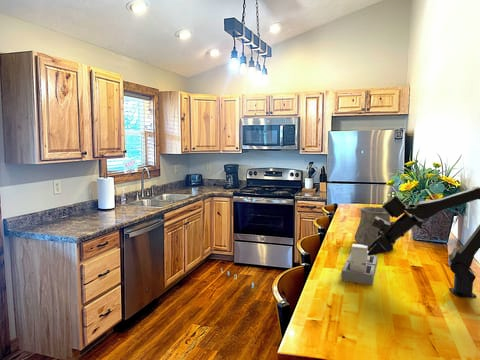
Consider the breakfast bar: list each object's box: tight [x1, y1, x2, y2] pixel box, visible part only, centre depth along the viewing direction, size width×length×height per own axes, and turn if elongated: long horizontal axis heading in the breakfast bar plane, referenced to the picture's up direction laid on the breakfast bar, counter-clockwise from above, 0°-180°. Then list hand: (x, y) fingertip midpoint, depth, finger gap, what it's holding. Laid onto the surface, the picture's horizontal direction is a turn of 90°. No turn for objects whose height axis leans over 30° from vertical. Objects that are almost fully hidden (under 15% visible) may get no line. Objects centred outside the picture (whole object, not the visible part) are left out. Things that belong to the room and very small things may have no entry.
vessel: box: [354, 206, 396, 249], centre depth 185 cm, size 22×22×20 cm
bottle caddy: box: [341, 250, 378, 286], centre depth 150 cm, size 11×24×7 cm, turn 155°
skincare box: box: [350, 243, 369, 273], centre depth 144 cm, size 6×4×12 cm
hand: (369, 251), depth 141 cm, fingers open, 9 cm apart
